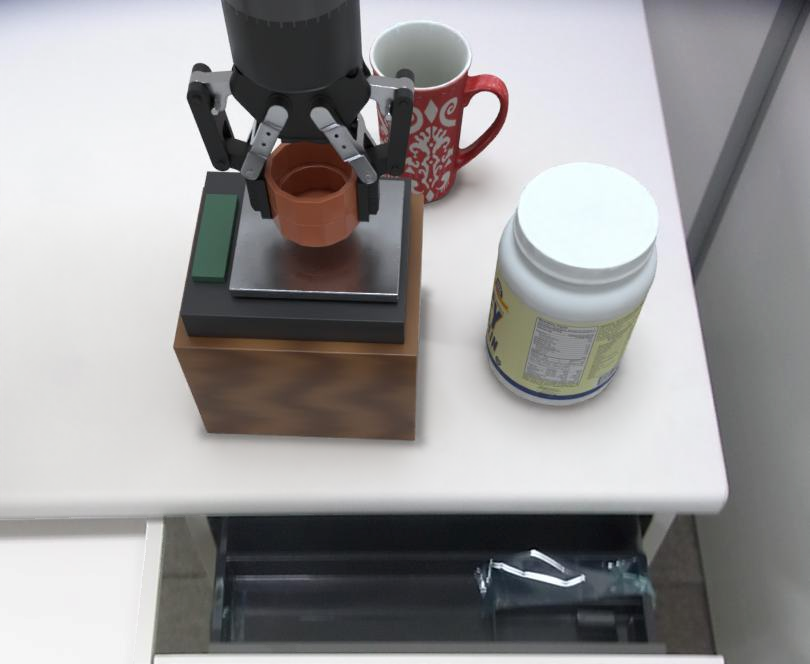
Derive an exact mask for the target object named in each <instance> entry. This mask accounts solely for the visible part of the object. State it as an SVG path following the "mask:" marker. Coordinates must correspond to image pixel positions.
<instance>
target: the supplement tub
mask: <svg viewBox="0 0 810 664" xmlns="http://www.w3.org/2000/svg"><path fill="white" fill-rule="evenodd" d="M659 228H660V213H659V208H658V206H657V203H656V201H655V199H654V197H653V195H652V194H651V193H650V192H649V190H648V189H647V188H646V186H644V185H643V184H642V183H641V182H640V181H639V180H637V179H636V178H635V177H633V176H632V175H630V174H628V173H626V172H624V171H622V170H620V169H618V168H616V167H613V166H609V165H607V164H602V163H597V162H586V161H576V162H567V163H563V164H559V165H556V166H552V167H550V168H548V169H546V170H544V171H542V172H540V173H538V174H536V175H535V176H534V177H533V178H532V179H530V181H529V182H528V183H527V184H526V186H525V187H524V189H523V190H522V192H521V194H520V197H519V199H518V204H517V206H516V208H515V211H514V212H513V214H512V215H511V216H510V217H509V219H508V221H507V222H506V224H505V226H504V228H503V230H502V233H501V236H500V238H499V242H498V247H497V258H496V264H495V271H494V277H493V283H492V292H491V299H490V304H489V305H490V306H489V312H488V318H487V319H488V320H487V327H486V332H485V340H484V341H485V342H484V343H485V352H486V356H487V361H488V363H489V366H490V368H491V370H492V371H493V373H494V375H495V377H496V378H497V379H498V381H499V382H500V383H501V384H502V385H503V386H504V387H505V388H506V389H507V390H509V391H511V392H512V393H514V394H515V395H516V396H519V397H520V398H523V399H525V400H527V401H530V402H532V403H537V404H541V405H547V406H568V405H575V404H578V403H582V402H585V401H587V400H590V399H591V398H594V397H595V396H597V395H598V394H600V393H601V392H602V391H603V390H604V389H605V388H606V387H607V386H608V385H609V384H610V382H611V381H612V380H613V379H614V377H615V376H616V374H617V372H618V371H619V368H620V366H621V363H622V359H623V357H624V354H625V353H626V350H627V347H628V345H629V341H630V339H631V337H632V334H633V332H634V329H635V327H636V324H637V322H638V319H639V317H640V314H641V312H642V309H643V307H644V304H645V302H646V299H647V297H648V294H649V293H650V290H651V288H652V286H653V283H654V282H655V281H654V280H655V278H656V274H657V273H656V272H657V268H658V249H657V238H658V237H657V236H658V233H659Z"/></svg>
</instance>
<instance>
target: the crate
mask: <svg viewBox="0 0 810 664" xmlns="http://www.w3.org/2000/svg"><path fill="white" fill-rule="evenodd" d="M203 190H204V186H203V187H202V191H201V196H200V202H199V208H198V212H197V218H196V223H195V228H194V234H193V239H192V243H191V250H190V254H189V260H188V264H187V265H188V266H187V271H186V276H185V282H184V286H183V292H182V298H181V302H180V307H179V312H178V319H177V323H176V324H177V325H176V329H175V335H174V340H173V345H172V348H173V351H174V353H175V356H176V359H177V361H178V364H179V366H180V368H181V371H182V374H183V376H184V378H185V380H186V383H187V385H188V388H189V391H190V393H191V397H192V398H193V401H194V403H195V405H196V408H197V411H198V413H199V416H200V418H201V420H202V423H203V425H204V428H205V430H206V433H207V434H229V435H230V434H231V435H257V436H259V435H260V436H281V437H282V436H286V437H312V438H313V437H314V438H338V439H341V438H342V439H364V440H365V439H366V440H392V441H396V440H397V441H415V440H416V426H417V425H416V424H417V401H418V400H417V399H418V379H419V378H418V377H419V375H418V374H419V354H420V353H419V352H420V351H419V350H420V328H421V305H422V302H421V301H422V277H423V276H422V275H423V272H422V271H423V270H422V269H423V245H424V243H423V242H424V240H423V239H424V210H425V209H424V208H425V202H424V194H411V218H410V238H409V258H408V278H407V298H406V318H405V338H404V344H389V343H361V342H333V341H304V340H276V339H248V338H219V337H191V336H188V334H187V332H186V329H185V326H184V324H183V321H182V318H181V315H180V313H181V307H182V302H183V297H184V291H185V286H186V281H187V275H188V270H189V265H190V259H191V254H192V249H193V243H194V238H195V233H196V227H197V222H198V217H199V211H200V206H201V201H202V195H203Z"/></svg>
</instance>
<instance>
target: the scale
mask: <svg viewBox="0 0 810 664" xmlns="http://www.w3.org/2000/svg"><path fill="white" fill-rule="evenodd" d="M379 180H397V181H404V205H403V223H402V242H401V260H400V278H399V296H398V302H382V301H353V300H324V299H295V298H266V297H237V296H231V295H230V291H229V286H230V279H231V273H232V267H233V261H234V254H235V248H236V242H237V236H238V229H239V223H240V217H241V211H242V204H243V198H244V192H245V186H246V181H245V177H243V176H242V174H241V172H239V171H213V170H212V171H211V170H207V171H206V175H205V180H204V184H203V185H204V186H203V187H204V190H203V189H202V190H203V195H202V194H201V196H202V201H201V200H200V201H201V206H200V205H199V206H200V211H199V210H198V212H199V217H198V216H197V217H198V222H197V221H196V222H197V227H196V226H195V227H196V233H195V232H194V233H195V238H194V237H193V238H194V243H193V242H192V243H193V249H192V248H191V249H192V254H191V253H190V254H191V259H190V258H189V259H190V265H189V264H188V265H189V270H188V269H187V270H188V275H187V274H186V275H187V281H186V280H185V281H186V286H185V285H184V286H185V291H184V290H183V291H184V297H183V296H182V297H183V302H182V301H181V302H182V307H181V306H180V307H181V313H180V315H181V318H182V321H183V324H184V326H185V329H186V332H187V334H188V336H191V337H219V338H248V339H276V340H304V341H333V342H361V343H389V344H404V338H405V318H406V298H407V278H408V258H409V238H410V218H411V187H412V179H411V178H399V177H384V176H381V177H380V178H379Z"/></svg>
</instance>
